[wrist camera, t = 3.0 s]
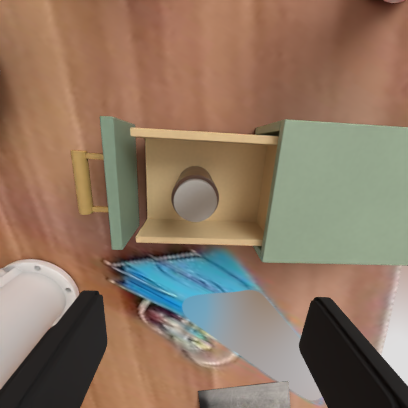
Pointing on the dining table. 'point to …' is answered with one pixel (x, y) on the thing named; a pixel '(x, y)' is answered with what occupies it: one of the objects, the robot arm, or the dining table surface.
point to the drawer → (167, 177)
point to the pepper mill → (195, 194)
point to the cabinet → (337, 194)
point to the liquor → (394, 1)
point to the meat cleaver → (247, 396)
